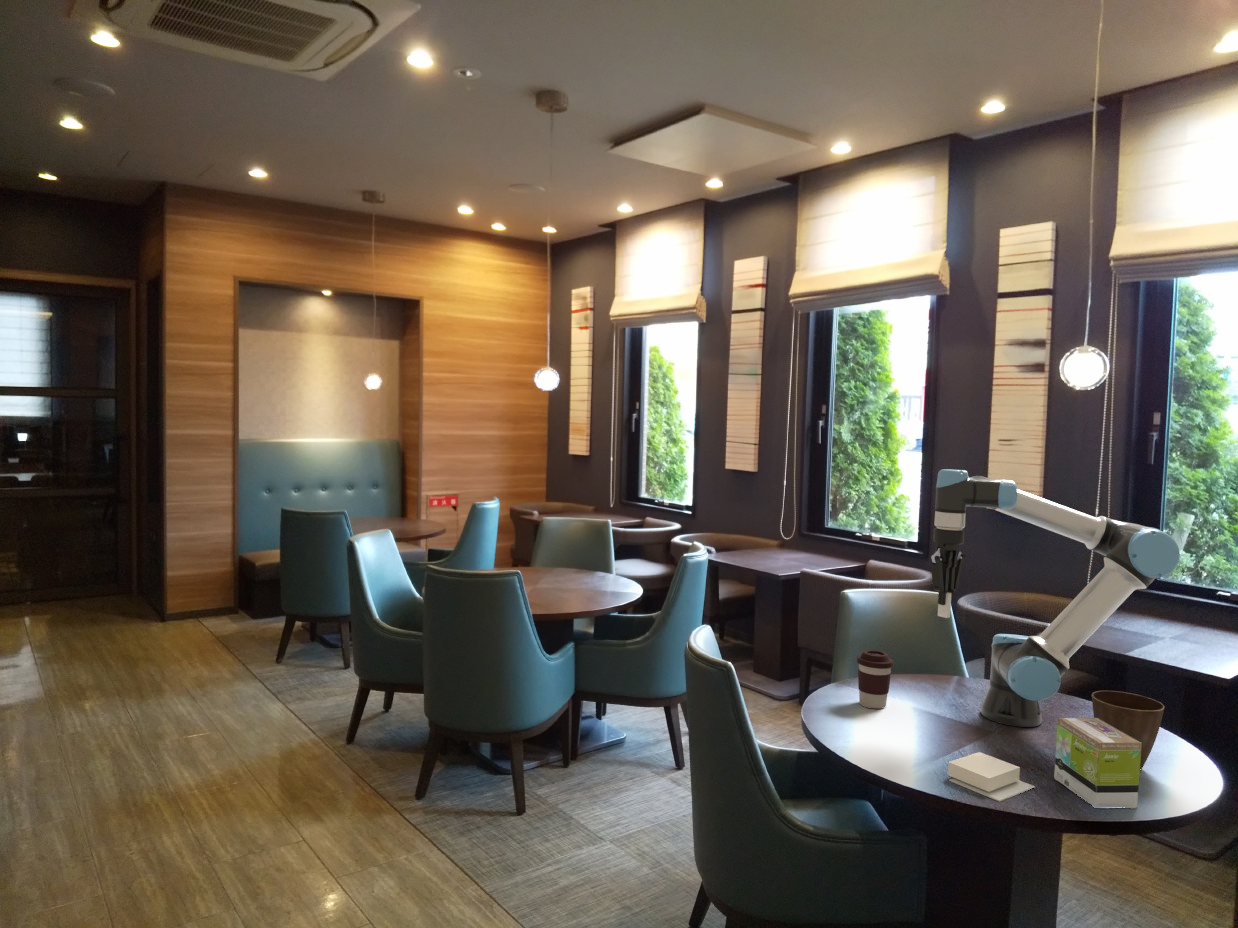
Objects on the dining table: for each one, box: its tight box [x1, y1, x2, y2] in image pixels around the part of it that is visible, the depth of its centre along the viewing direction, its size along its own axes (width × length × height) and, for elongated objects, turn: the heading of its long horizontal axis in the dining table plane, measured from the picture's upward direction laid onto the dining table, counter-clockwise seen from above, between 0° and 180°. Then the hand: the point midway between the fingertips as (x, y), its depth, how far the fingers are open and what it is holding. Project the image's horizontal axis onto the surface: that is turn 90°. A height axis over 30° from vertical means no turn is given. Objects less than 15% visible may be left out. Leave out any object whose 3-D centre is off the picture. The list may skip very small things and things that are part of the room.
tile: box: [947, 751, 1021, 792], centre depth 190 cm, size 12×3×10 cm
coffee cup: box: [856, 649, 894, 710], centre depth 240 cm, size 10×10×15 cm
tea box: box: [1053, 717, 1142, 809], centre depth 185 cm, size 15×10×15 cm
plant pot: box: [1091, 690, 1165, 770], centre depth 202 cm, size 15×15×16 cm
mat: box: [949, 777, 1036, 803], centre depth 189 cm, size 14×12×1 cm
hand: (943, 616), depth 223 cm, fingers closed
